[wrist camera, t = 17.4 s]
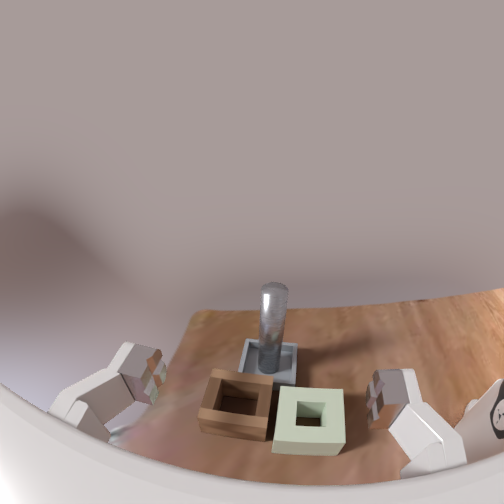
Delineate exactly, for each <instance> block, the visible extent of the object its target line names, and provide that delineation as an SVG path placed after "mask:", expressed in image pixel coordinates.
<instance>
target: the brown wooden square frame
mask: <svg viewBox="0 0 504 504" xmlns="http://www.w3.org/2000/svg"><path fill="white" fill-rule="evenodd" d="M273 379H274V376H268V375H259V374H250V373H242V372H235V371H228V370H221V369H215V368H213V370H212V373H211V376H210V379H209V382H208V385H207V388H206V392H205V395H204V398H203V401H202V404H201V407H200V410H199V413H198V416H197V419H198V422H199V426H200V429H201V432H204V433H209V434H215V435H220V436H226V437H232V438H239V439H246V440H253V441H262V442H265V437H266V431H267V424H268V417H269V410H270V403H271V395H272V387H273ZM223 395H225V396H231V397H238V398H245V399H253V400H258V403H257V409H256V414H255V416H250V415H243V414H236V413H229V412H223V411H219V410H220V406H221V402H222V399H223Z"/></svg>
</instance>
